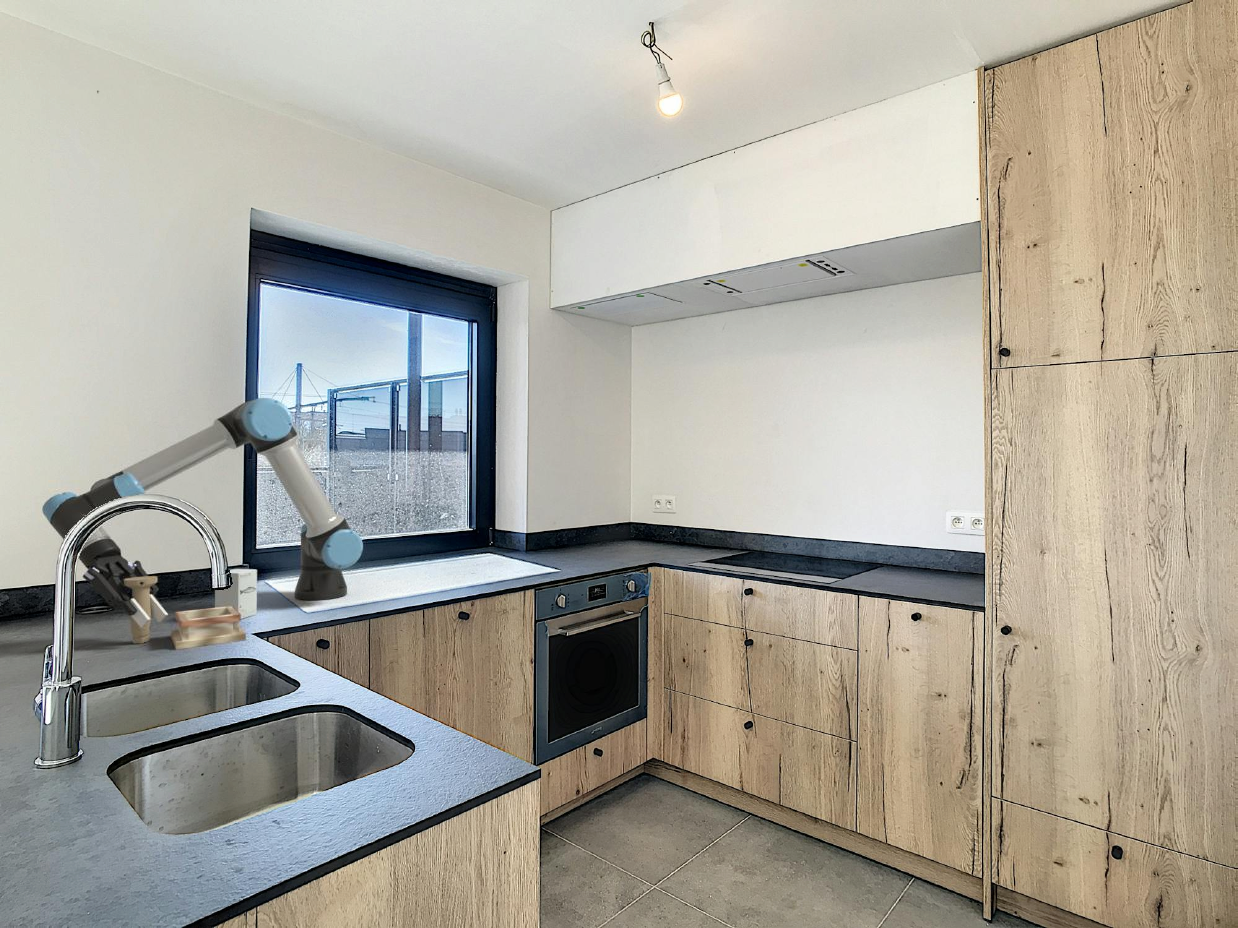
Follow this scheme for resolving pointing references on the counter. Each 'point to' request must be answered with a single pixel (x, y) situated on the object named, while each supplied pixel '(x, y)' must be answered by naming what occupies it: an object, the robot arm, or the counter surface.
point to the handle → (142, 597)
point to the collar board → (207, 627)
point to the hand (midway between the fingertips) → (154, 620)
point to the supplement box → (240, 592)
